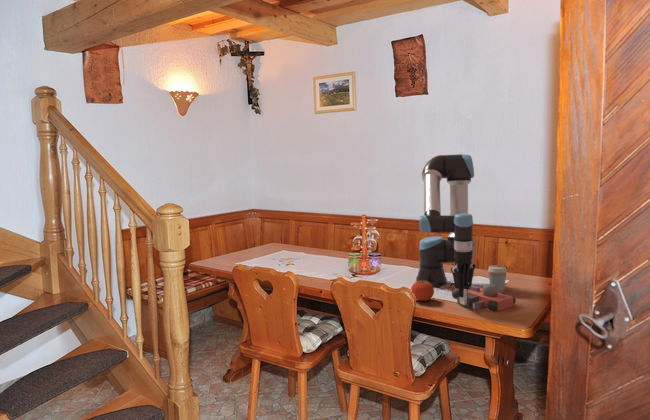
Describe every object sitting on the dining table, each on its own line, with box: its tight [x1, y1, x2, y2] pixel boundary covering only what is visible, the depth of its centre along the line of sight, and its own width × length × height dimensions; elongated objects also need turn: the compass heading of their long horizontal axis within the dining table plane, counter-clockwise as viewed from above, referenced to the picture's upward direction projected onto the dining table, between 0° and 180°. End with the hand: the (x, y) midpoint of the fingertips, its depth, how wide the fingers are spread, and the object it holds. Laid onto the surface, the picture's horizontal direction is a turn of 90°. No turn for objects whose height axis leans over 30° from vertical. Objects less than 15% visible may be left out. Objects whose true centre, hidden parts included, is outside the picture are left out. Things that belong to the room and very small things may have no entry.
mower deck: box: [451, 283, 517, 312], centre depth 210 cm, size 24×13×8 cm, turn 32°
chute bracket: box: [456, 297, 484, 310], centre depth 207 cm, size 10×6×2 cm, turn 32°
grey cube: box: [459, 294, 478, 309], centre depth 206 cm, size 5×6×4 cm
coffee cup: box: [487, 264, 508, 294], centre depth 223 cm, size 8×8×12 cm
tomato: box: [410, 279, 435, 302], centre depth 214 cm, size 10×10×10 cm
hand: (463, 303), depth 204 cm, fingers closed
